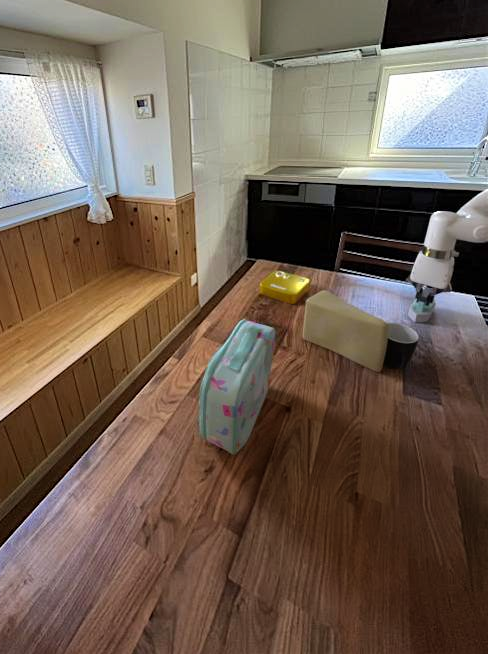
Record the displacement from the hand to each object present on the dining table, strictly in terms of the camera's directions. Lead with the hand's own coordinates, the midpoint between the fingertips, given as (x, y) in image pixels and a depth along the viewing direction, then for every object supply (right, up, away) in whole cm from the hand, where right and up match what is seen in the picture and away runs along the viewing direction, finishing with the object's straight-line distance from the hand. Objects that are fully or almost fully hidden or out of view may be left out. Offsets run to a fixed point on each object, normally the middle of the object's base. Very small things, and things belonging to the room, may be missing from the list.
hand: (423, 302), depth 111 cm
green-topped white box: (0, -4, +1) cm, 5 cm away
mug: (-21, -15, -18) cm, 32 cm away
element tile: (-40, +1, +20) cm, 45 cm away
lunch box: (-66, -23, -29) cm, 75 cm away
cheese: (-32, -13, -12) cm, 37 cm away
